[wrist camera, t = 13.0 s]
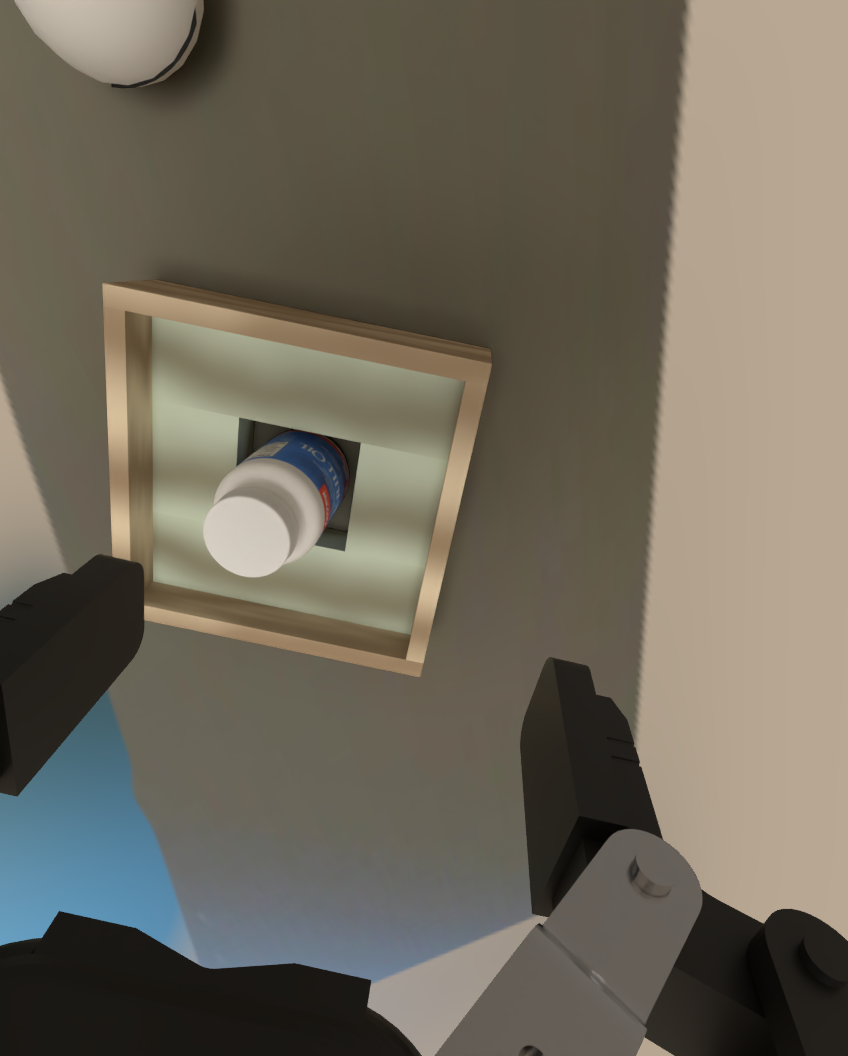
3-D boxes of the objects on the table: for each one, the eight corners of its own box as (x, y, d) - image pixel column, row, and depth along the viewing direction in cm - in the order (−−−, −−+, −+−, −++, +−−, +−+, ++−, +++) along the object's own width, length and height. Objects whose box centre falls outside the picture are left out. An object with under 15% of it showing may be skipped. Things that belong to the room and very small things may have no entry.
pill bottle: (367, 492, 36) (329, 569, 27) (291, 526, 37) (231, 611, 28) (321, 409, 34) (264, 463, 25) (243, 448, 35) (163, 512, 26)
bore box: (156, 279, 32) (102, 283, 27) (490, 348, 32) (492, 364, 27) (157, 572, 39) (114, 613, 35) (427, 628, 39) (420, 677, 35)
